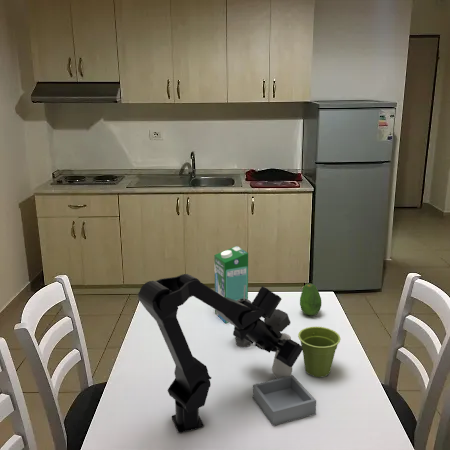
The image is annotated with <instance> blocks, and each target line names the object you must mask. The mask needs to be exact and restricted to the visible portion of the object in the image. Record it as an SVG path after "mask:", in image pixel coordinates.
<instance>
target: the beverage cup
mask: <svg viewBox="0 0 450 450" xmlns="http://www.w3.org/2000/svg"><path fill="white" fill-rule="evenodd" d="M245 291H246V285H244V298H242V299H239V300H237V301H242V300H246V301H248V302H250V303H252V302H251V300H249V298H248V299H245ZM235 327H236V326H234V325H233V329H234V328H235ZM234 339H235V345H236V346H237V347H238V348H239V347H240V348H247V347H249V346H250V345H251V343H250V342H248V341H247V340H245V339H243V340H240V339H239V338H237V337H235V336H234Z"/></svg>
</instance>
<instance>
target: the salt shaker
mask: <svg viewBox="0 0 450 450" xmlns="http://www.w3.org/2000/svg"><path fill="white" fill-rule="evenodd" d="M281 333H282V334H283V335H282V336H281V338H279V339H280V340H283V339H285V340H287V339H288V340H289V339H291V340H292V338H291V336H290V334H288V333H287V332H281ZM278 344H279V343H278ZM281 344H282V343H281ZM277 349H278V348H277ZM278 352H279V351H278V350H277V351H276V352H274V356H273V357H274V359H273V363H272V368H271V371H272V373H273V376H274V377H275V379H279V378H283V377H287V376H291V375H292V374H293V373H292V372H293V366H292V367H289V366H287V365H286V364H284V363H282V362H281V361H279V360H278V359H276V356H277V354H278Z"/></svg>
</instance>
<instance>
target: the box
mask: <svg viewBox="0 0 450 450" xmlns="http://www.w3.org/2000/svg"><path fill="white" fill-rule="evenodd" d="M252 400H254V402H255V403H256V405H257V406H258V408H259V409H260V410H261V411H262V413H263V415H264V416H265V417H266V418H267V420H268V421H269V422H270V423H271V425H272V427H274V426H279V425H281V424H282V425H283V424H285V423H290V422H293V421H295V420H299V419H303V418H306V417H311V416H314V415H316V414H317V413H316V412H317V399H316V398H315V397H314V396H313V395H312V394H311V393H310V392H309V391H308V389H306V388H305V386H304V385H303V384H302V383H300V381H299V380H298V379H297V378H296V377H295V376H294V374H293V375H292V374H291V375H290V376H287V377H283V378H279V379H277V378H274V379H271V380H268V381H267V380H266V381H263V382H258V383H255V384H254V383H253V384H252Z"/></svg>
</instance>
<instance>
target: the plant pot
mask: <svg viewBox="0 0 450 450" xmlns="http://www.w3.org/2000/svg"><path fill="white" fill-rule="evenodd" d="M297 337H298V340H300V345H301V346H302V348H303V350H302V355H303V356H302V358H303V362H304V363H303V364H304V369H305V370H304V371H305V372H306V373H307V374H308V375H311V376H312V377H315V378H324V377H327V376H328V375H329V374H330V373H331V370H332V365H333V362H334V358H335V353H336V350H337V348H338V345H339V344H340V342H341V340H342V339H341V336H340V334H339V333H338V332H336V331H335V330H334V329H330V328H328V327H325V326H323V327H322V326H309V327H308V326H307V327H305V328H302V329H301V330H300V331H299V332H298V334H297Z"/></svg>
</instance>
